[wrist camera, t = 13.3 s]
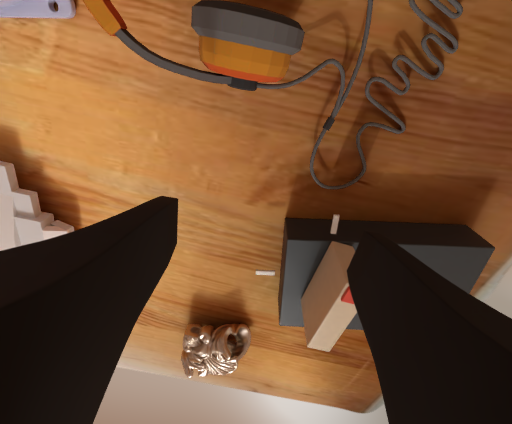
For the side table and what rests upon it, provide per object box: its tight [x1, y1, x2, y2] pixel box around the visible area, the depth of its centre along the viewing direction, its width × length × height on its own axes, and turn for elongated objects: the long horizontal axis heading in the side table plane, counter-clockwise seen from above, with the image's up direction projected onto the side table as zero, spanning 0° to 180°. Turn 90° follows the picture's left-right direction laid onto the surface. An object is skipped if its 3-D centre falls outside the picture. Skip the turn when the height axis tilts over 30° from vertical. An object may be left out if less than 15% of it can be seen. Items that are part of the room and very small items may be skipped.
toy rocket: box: [0, 161, 74, 251], centre depth 22 cm, size 16×10×2 cm, turn 168°
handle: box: [301, 241, 357, 352], centre depth 17 cm, size 6×2×4 cm, turn 164°
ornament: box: [181, 324, 251, 377], centre depth 26 cm, size 8×7×4 cm
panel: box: [256, 214, 495, 330], centre depth 20 cm, size 16×11×3 cm
